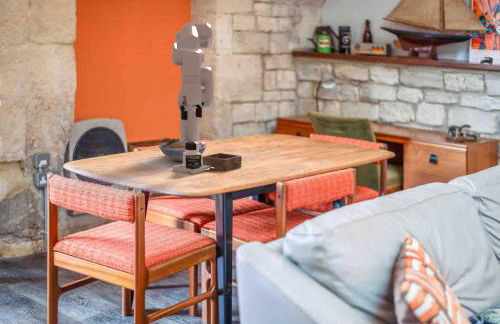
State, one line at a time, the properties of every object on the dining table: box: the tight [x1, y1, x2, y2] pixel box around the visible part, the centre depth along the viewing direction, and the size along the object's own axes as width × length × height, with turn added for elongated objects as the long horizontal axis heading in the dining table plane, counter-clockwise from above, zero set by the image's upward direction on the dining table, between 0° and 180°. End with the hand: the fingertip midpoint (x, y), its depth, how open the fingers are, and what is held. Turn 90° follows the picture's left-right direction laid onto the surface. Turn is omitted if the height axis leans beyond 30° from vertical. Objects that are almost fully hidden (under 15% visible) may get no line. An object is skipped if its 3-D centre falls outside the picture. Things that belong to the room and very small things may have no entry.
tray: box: [171, 163, 211, 175], centre depth 336 cm, size 12×12×2 cm
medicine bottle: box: [182, 141, 203, 169], centre depth 335 cm, size 7×7×12 cm
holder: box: [202, 152, 243, 172], centre depth 343 cm, size 13×13×5 cm
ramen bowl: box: [158, 138, 208, 162], centre depth 358 cm, size 25×23×8 cm
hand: (191, 118), depth 332 cm, fingers open, 9 cm apart
